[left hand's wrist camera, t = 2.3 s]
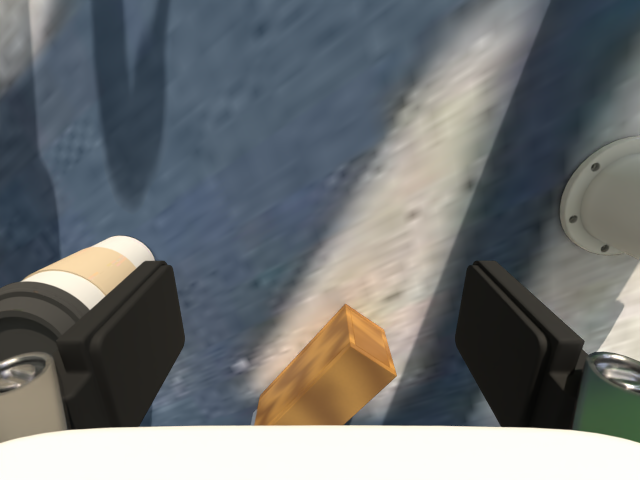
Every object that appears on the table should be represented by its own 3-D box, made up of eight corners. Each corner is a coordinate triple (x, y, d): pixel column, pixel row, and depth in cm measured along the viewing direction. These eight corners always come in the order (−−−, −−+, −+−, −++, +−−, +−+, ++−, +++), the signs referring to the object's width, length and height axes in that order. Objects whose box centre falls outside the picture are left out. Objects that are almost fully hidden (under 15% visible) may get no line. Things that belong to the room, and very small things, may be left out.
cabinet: (296, 416, 48) (292, 471, 41) (259, 395, 47) (249, 449, 40) (384, 329, 43) (397, 376, 36) (345, 303, 42) (350, 346, 34)
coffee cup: (74, 274, 40) (-58, 366, 26) (101, 211, 37) (-30, 276, 23) (147, 310, 42) (61, 415, 28) (179, 252, 39) (101, 337, 25)
